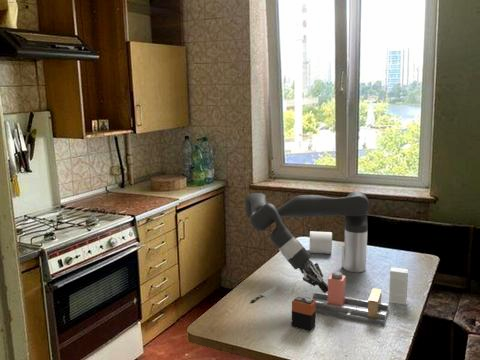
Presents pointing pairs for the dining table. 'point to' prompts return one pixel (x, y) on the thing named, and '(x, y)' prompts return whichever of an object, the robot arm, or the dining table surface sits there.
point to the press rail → (354, 308)
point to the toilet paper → (321, 242)
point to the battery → (303, 313)
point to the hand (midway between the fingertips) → (327, 291)
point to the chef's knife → (264, 294)
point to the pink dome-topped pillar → (336, 288)
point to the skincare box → (398, 285)
